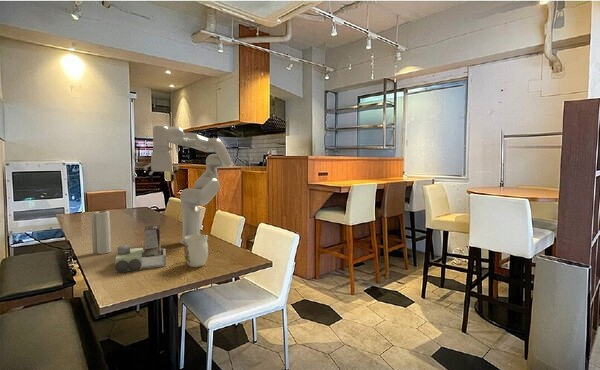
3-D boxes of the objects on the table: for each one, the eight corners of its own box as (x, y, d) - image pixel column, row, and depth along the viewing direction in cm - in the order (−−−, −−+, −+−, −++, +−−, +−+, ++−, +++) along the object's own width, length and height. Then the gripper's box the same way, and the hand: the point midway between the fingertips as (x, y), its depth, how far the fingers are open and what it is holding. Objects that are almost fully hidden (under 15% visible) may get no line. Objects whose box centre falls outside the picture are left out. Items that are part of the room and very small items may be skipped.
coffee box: (160, 263, 153) (159, 228, 152) (145, 264, 151) (144, 229, 149) (160, 257, 161) (160, 225, 160) (146, 259, 159) (145, 225, 158)
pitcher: (200, 257, 166) (200, 230, 165) (214, 267, 151) (214, 237, 150) (178, 261, 159) (177, 233, 158) (190, 272, 145) (189, 241, 144)
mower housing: (143, 258, 163) (143, 240, 162) (141, 270, 146) (140, 250, 145) (120, 261, 159) (119, 242, 158) (115, 273, 142) (114, 252, 141)
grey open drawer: (165, 258, 164) (165, 248, 164) (165, 266, 152) (165, 255, 152) (143, 260, 160) (143, 250, 160) (141, 268, 148) (141, 257, 148)
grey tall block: (113, 251, 174) (112, 211, 173) (104, 254, 169) (102, 213, 167) (102, 250, 176) (101, 210, 175) (92, 253, 171) (90, 212, 169)
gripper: (178, 150, 180) (179, 181, 182) (143, 149, 174) (144, 182, 175) (179, 149, 173) (179, 182, 175) (142, 149, 167) (143, 183, 168)
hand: (162, 182), depth 175 cm, fingers open, 9 cm apart
